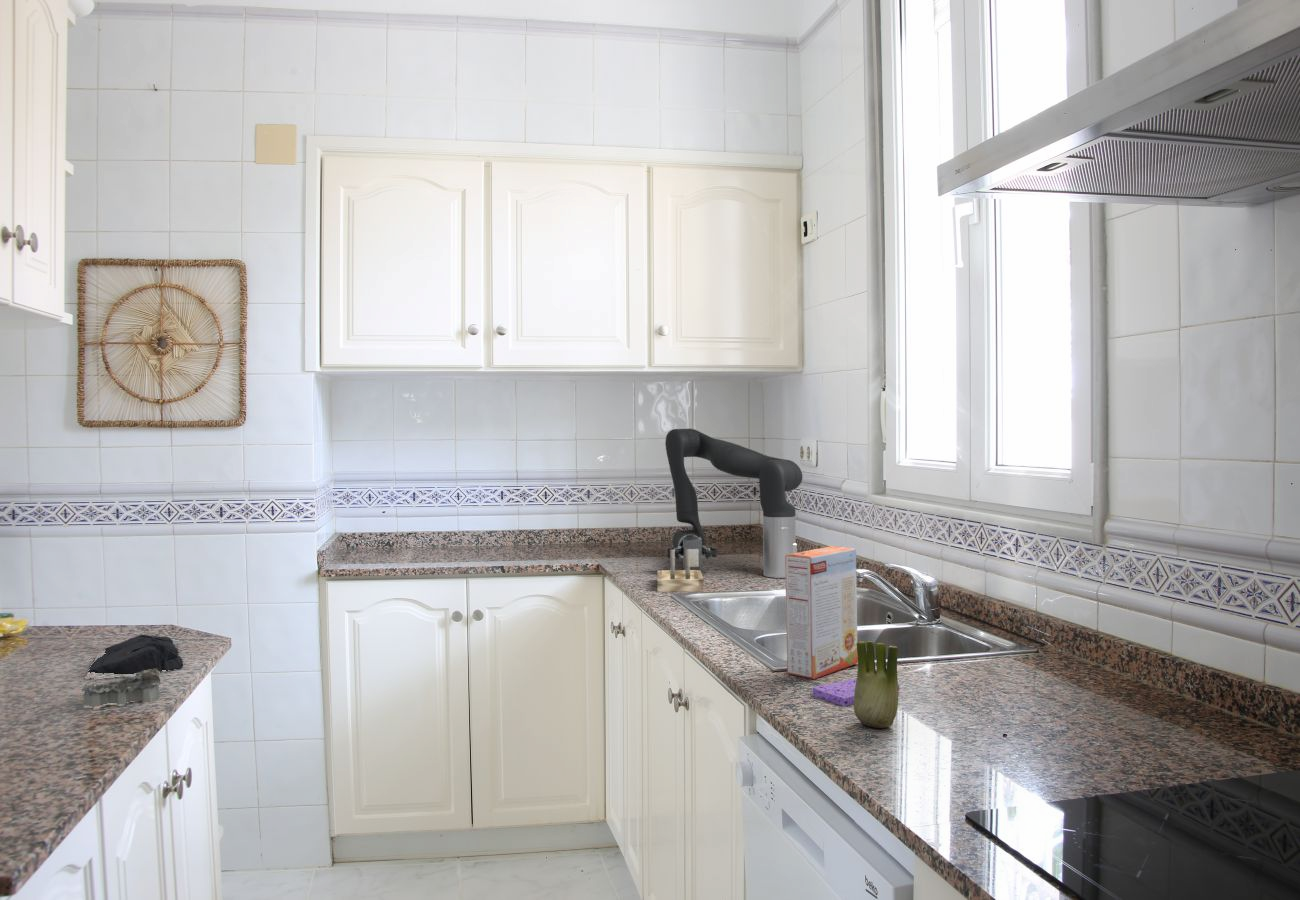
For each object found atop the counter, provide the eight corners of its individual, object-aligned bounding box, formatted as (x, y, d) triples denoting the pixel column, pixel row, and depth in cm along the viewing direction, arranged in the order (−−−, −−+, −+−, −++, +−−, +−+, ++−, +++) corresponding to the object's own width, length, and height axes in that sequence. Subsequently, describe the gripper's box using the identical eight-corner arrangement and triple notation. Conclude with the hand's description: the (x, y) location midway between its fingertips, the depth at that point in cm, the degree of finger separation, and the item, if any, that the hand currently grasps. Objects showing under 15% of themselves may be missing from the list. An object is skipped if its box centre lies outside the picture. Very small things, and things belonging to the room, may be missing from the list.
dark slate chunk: (184, 647, 178) (183, 623, 178) (183, 673, 158) (183, 647, 158) (93, 656, 171) (93, 632, 171) (81, 685, 151) (80, 657, 151)
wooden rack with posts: (700, 580, 249) (700, 543, 249) (703, 591, 233) (703, 551, 233) (657, 581, 249) (657, 543, 249) (657, 591, 233) (657, 551, 233)
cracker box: (830, 658, 164) (830, 545, 163) (859, 664, 159) (858, 547, 159) (783, 673, 154) (783, 552, 153) (813, 680, 150) (812, 556, 149)
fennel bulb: (902, 728, 125) (902, 643, 125) (876, 735, 123) (876, 648, 123) (872, 717, 130) (872, 635, 130) (847, 723, 128) (847, 639, 128)
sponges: (811, 698, 141) (811, 686, 141) (867, 685, 148) (867, 674, 148) (844, 709, 136) (844, 697, 136) (900, 695, 143) (900, 683, 143)
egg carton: (162, 691, 147) (162, 666, 147) (159, 704, 140) (158, 678, 140) (86, 700, 142) (85, 674, 142) (79, 713, 136) (78, 686, 136)
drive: (700, 574, 259) (700, 537, 259) (701, 579, 252) (701, 540, 252) (683, 575, 259) (683, 537, 259) (684, 579, 252) (683, 540, 252)
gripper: (667, 535, 270) (667, 542, 254) (714, 535, 270) (717, 541, 254) (667, 560, 270) (667, 568, 254) (714, 559, 270) (717, 568, 254)
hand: (692, 555), depth 254 cm, fingers open, 8 cm apart
